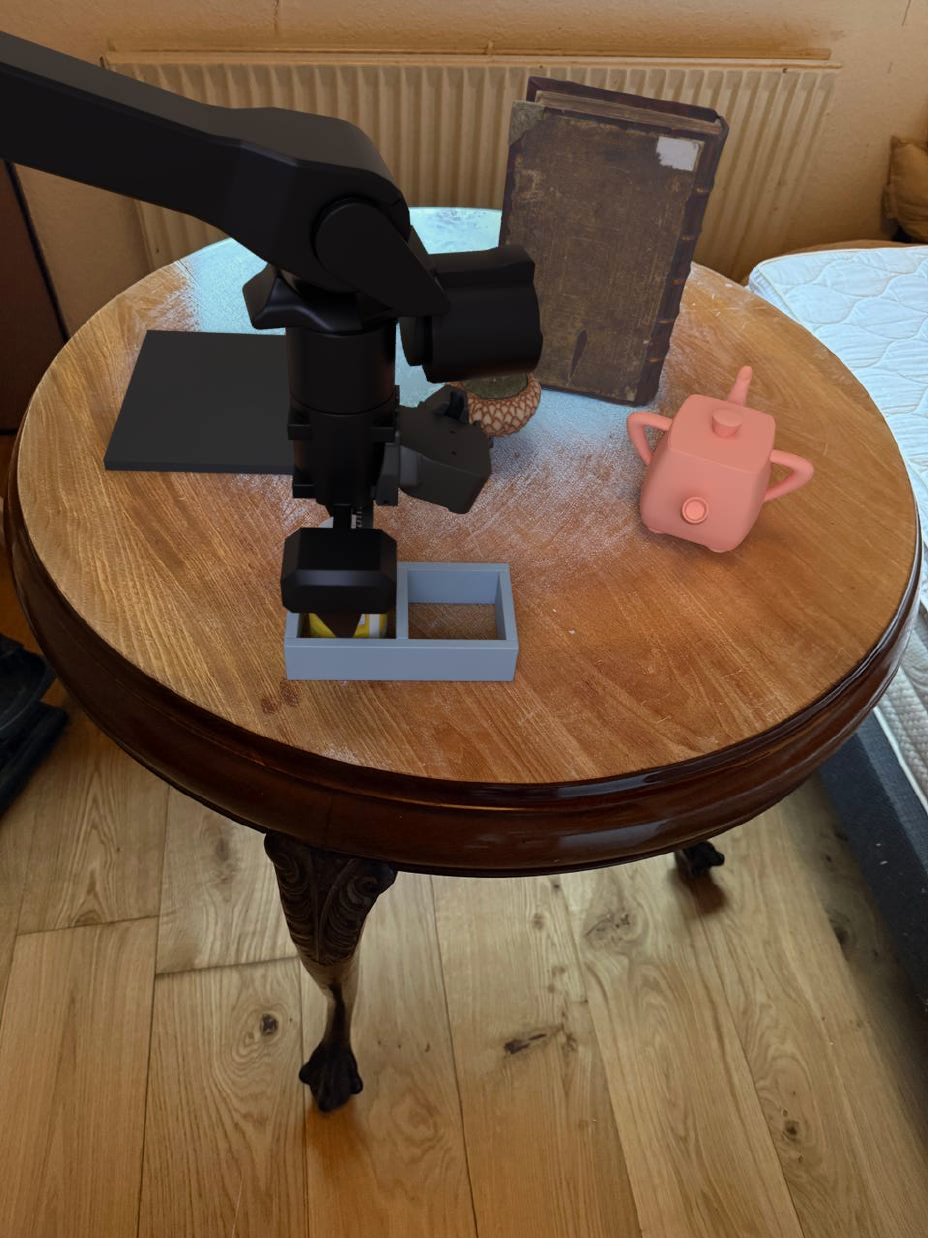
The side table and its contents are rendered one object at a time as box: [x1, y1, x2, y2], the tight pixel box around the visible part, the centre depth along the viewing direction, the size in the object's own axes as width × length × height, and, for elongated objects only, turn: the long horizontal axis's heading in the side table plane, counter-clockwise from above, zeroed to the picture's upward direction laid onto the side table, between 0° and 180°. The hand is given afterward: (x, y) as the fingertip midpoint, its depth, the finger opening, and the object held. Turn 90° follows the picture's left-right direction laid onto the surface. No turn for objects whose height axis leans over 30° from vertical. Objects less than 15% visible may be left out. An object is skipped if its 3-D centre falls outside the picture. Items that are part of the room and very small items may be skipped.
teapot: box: [625, 365, 815, 554], centre depth 73 cm, size 14×12×10 cm
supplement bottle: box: [308, 515, 389, 639], centre depth 62 cm, size 5×5×10 cm
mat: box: [102, 329, 295, 476], centre depth 83 cm, size 19×20×1 cm
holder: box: [283, 560, 520, 682], centre depth 64 cm, size 15×8×4 cm, turn 93°
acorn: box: [443, 373, 542, 450], centre depth 77 cm, size 8×8×10 cm
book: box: [497, 74, 730, 408], centre depth 80 cm, size 17×7×25 cm, turn 71°
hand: (347, 585), depth 62 cm, fingers open, 9 cm apart
